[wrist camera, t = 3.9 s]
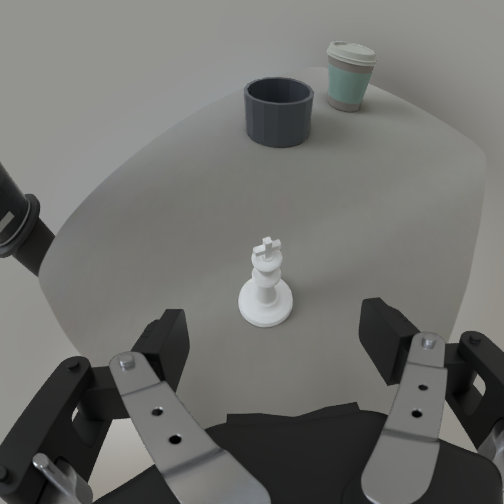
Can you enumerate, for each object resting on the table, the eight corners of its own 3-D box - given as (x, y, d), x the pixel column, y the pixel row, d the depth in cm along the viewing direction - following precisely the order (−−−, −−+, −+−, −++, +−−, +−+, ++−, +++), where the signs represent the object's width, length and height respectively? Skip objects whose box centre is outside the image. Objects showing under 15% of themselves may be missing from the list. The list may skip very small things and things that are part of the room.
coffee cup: (348, 93, 46) (357, 41, 35) (374, 114, 42) (388, 58, 31) (312, 95, 44) (317, 39, 34) (337, 118, 40) (347, 54, 30)
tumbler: (250, 150, 36) (248, 106, 30) (243, 116, 41) (240, 79, 35) (316, 145, 36) (322, 104, 30) (300, 113, 41) (302, 76, 35)
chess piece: (301, 315, 24) (323, 261, 15) (249, 335, 23) (241, 290, 15) (280, 270, 26) (288, 199, 18) (231, 287, 26) (215, 221, 17)
